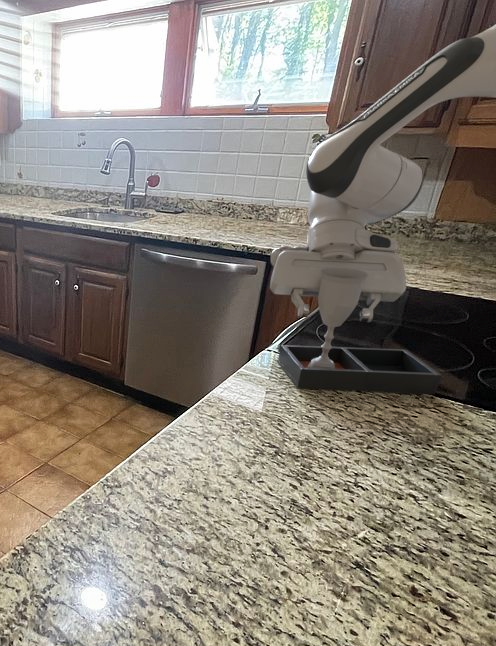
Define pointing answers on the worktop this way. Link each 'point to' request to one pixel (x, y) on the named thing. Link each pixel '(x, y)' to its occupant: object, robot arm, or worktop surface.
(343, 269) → the chalice
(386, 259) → the robot arm
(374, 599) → the worktop surface
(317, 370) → the tray
